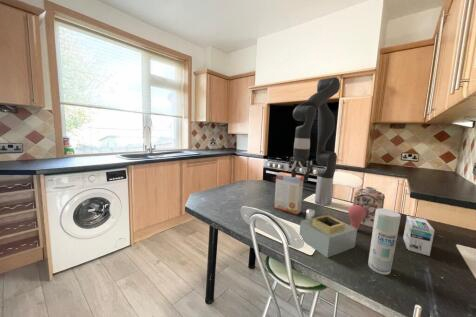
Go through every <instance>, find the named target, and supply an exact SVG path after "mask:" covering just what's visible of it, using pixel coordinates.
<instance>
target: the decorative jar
mask: <svg viewBox="0 0 476 317" xmlns="http://www.w3.org/2000/svg"><path fill="white" fill-rule="evenodd" d="M385 199H386V197H385V193H382V192H380V191H378V190H377V188H375V187H372V186H365V187H364V188H358V189H356V191H355V192H354V196H353V201H352V205H360V206H362V207H363V208H364V209H365V211H366V216H365V218H364V219H363V220H362V221H361V224H360V225H363V226H366V227H369V228H372V229H373V226H374V219H375V212H376V209H379V208H381V209H384V206H385Z"/></svg>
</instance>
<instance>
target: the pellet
mask: <svg viewBox="0 0 476 317" xmlns="http://www.w3.org/2000/svg"><path fill="white" fill-rule="evenodd" d="M315 214H316V211H315V210H314V209H313V208H307V209H306V213H305V220H306V219H310V218H314V217H315V216H316V215H315Z"/></svg>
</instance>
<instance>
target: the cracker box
mask: <svg viewBox="0 0 476 317" xmlns="http://www.w3.org/2000/svg"><path fill="white" fill-rule="evenodd" d="M275 175H276V176H275V190H274V191H275V193H274V204H273V205H274V206H273V207H274V208H273V209H276V210H280V211H283V212H287V213H290V214H293V215H295V216H296V215H299V214H300V213H301V212H302V211H301V210H302V201H303V188H304V181H303V179H304V175H299V174H296V177H292V175H291V173H287V172H282V171H281V172H278V173H276V174H275Z"/></svg>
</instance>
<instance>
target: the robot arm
mask: <svg viewBox="0 0 476 317" xmlns="http://www.w3.org/2000/svg"><path fill="white" fill-rule="evenodd" d="M340 89H341V82H340V79H339V78H338V77H334V76H333V77H326V78H322V79H319V80H318V81H317V84H316V92H314V93H313V94H312V95H311V96H310V97H308V98H307V100H305V101H304V102H301V103H299V104H298V105H297V106H295V108H294V109H293V111H292V117H293V119H294V120H295V121H297V122H304V123H303V125H298V126H296V127H295V132H294V133H295V134H294V142H293V151H292V152H293V155H292V156H290V157H289V162H288V168H289V169H290V170H291V173H290V174H291V175H292V177H296V175H297V169H298V168H299V169H301V171H303V176H304V178H303V182H308V181H309V176H310V175H311V174H313V173H314V171H313V170H314V161H313V160H309V157H310V150H311V149H310V148H311V131H312V126H313V124H314V121H315V120H316V116H317V144H316V145H317V146H316V156H315V160H316V164H317V165H320V166H323V167H324V166H325V167H326V168H325V169H324V170H318V171H317V176H316V186H315V196H314V203H315V204H317V205H320V206H330V205H331V204H332V202H333V201H332V200H333V192H334V189H333V184H334V175H335V172H336V167H337V166H336V165H337V160H338V155H337V153H336V152H335V151H331V150H330V151H329V150H326V145H327V142H328V141H329V139H330V138H331V136H332V135H333V133H334V132H335V127H336V124H335V123H336V122H335V121H336V118H335V115H334V114H333V112H332V110H331V109H330V108H329V106H328V104H327V101H328V100H329V99H331V98H332V97H334V96H335V95H336V94H337V93H338V92H339V91H340Z"/></svg>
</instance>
